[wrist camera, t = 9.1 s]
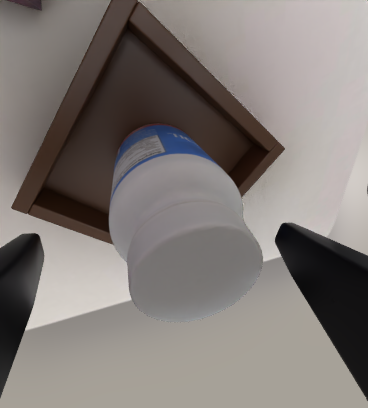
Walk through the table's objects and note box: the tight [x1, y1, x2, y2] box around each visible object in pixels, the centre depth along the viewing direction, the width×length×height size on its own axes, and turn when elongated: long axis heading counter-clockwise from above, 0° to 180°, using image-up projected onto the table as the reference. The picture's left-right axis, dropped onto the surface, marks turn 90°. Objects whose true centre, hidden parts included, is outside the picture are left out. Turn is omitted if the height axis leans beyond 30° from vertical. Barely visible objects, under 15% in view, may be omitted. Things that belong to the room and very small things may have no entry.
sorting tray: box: [11, 0, 285, 245], centre depth 14 cm, size 12×12×2 cm
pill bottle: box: [109, 123, 263, 322], centre depth 10 cm, size 6×5×10 cm
